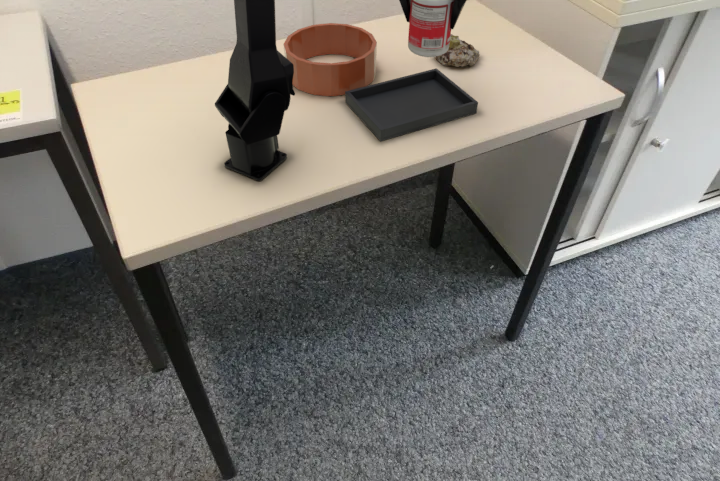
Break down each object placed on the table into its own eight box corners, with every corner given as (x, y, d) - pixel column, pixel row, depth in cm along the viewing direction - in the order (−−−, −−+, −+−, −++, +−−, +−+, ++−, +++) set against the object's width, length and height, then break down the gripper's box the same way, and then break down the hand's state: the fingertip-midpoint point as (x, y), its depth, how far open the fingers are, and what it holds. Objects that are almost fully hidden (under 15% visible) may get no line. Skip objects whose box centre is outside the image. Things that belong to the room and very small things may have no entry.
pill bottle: (428, 36, 82) (435, -41, 74) (457, 50, 79) (468, -29, 71) (398, 47, 79) (403, -31, 72) (427, 62, 76) (435, -19, 68)
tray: (380, 141, 78) (380, 130, 76) (345, 102, 86) (344, 91, 84) (476, 113, 83) (478, 102, 82) (435, 78, 91) (436, 68, 89)
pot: (345, 105, 85) (344, 73, 81) (269, 80, 91) (265, 50, 87) (391, 65, 94) (392, 35, 90) (319, 45, 100) (318, 16, 96)
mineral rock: (492, 54, 92) (451, 46, 89) (482, 77, 95) (442, 71, 92) (468, 30, 100) (431, 22, 97) (460, 52, 102) (423, 45, 100)
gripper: (528, -109, 68) (504, 12, 79) (392, -121, 73) (387, -5, 84) (514, -86, 61) (490, 44, 72) (364, -102, 66) (363, 23, 77)
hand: (430, 24), depth 77 cm, fingers closed on pill bottle, 6 cm apart
